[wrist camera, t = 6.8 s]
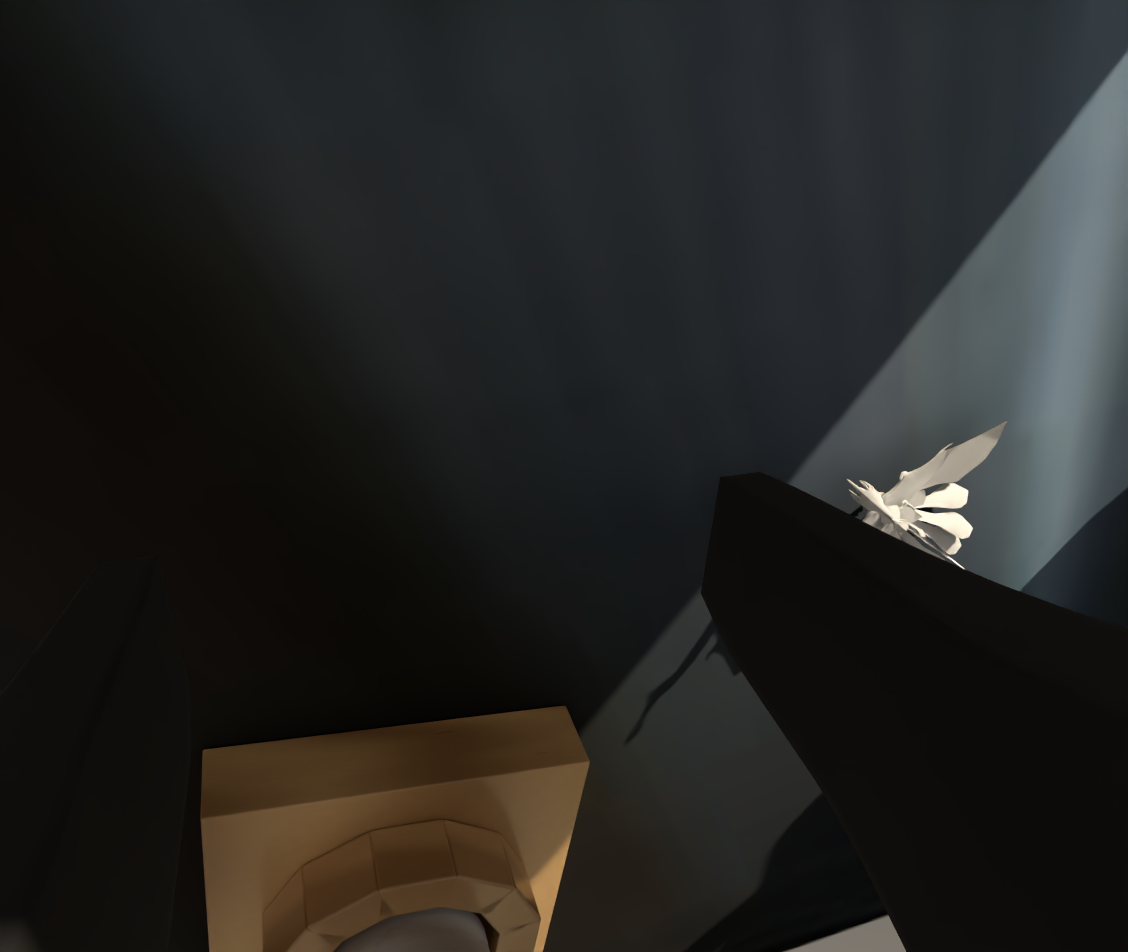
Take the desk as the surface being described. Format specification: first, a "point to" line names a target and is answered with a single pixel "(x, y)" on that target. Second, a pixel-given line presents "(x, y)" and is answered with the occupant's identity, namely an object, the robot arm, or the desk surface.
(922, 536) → the flower
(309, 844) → the lid base
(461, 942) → the flask lid
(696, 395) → the desk surface
